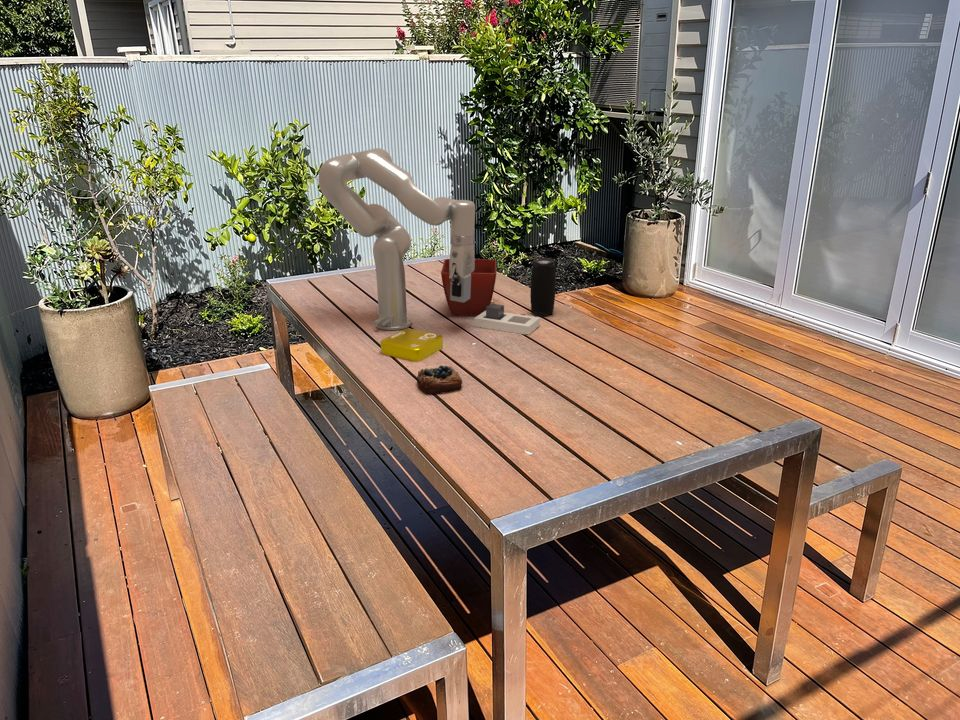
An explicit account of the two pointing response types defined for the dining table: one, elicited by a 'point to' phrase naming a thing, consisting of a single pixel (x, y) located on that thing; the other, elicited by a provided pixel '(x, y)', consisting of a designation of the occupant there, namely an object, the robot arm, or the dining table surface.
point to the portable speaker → (543, 286)
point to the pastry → (439, 380)
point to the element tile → (411, 344)
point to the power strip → (506, 320)
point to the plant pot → (472, 288)
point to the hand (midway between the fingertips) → (460, 293)
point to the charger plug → (463, 289)
